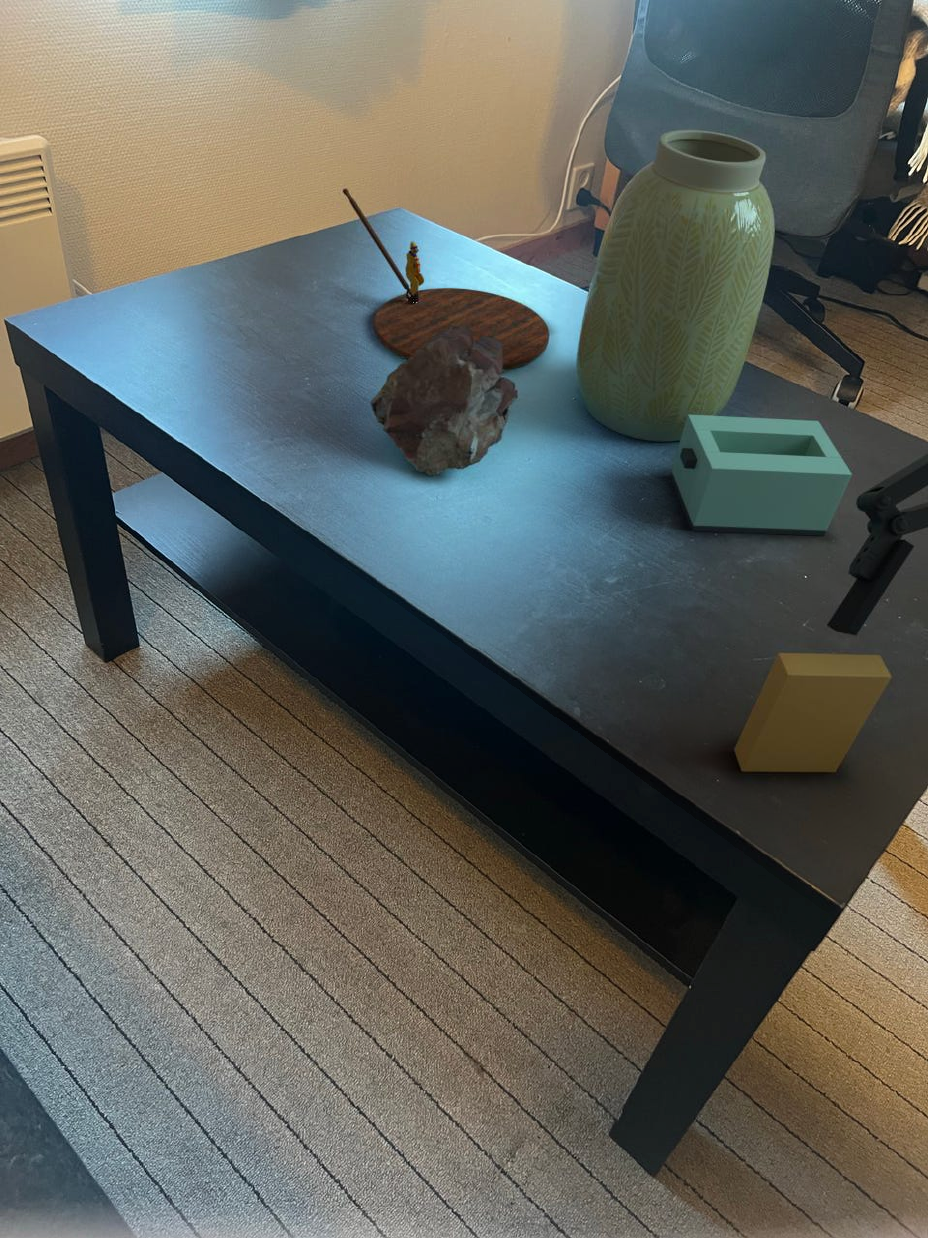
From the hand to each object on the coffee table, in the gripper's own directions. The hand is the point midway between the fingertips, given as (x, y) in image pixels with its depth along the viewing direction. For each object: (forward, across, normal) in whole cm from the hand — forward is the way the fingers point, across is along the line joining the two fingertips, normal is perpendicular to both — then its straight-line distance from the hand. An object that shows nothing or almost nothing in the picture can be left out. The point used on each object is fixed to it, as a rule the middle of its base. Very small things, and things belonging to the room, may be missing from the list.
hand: (926, 687), depth 59 cm
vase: (-16, +18, -45) cm, 52 cm away
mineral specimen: (-1, +35, -38) cm, 51 cm away
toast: (+9, +2, -8) cm, 12 cm away
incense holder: (-15, +45, -59) cm, 76 cm away
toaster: (-11, +7, -32) cm, 35 cm away
